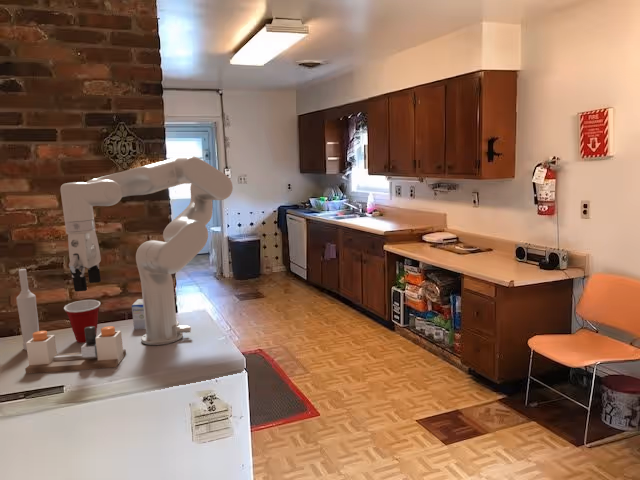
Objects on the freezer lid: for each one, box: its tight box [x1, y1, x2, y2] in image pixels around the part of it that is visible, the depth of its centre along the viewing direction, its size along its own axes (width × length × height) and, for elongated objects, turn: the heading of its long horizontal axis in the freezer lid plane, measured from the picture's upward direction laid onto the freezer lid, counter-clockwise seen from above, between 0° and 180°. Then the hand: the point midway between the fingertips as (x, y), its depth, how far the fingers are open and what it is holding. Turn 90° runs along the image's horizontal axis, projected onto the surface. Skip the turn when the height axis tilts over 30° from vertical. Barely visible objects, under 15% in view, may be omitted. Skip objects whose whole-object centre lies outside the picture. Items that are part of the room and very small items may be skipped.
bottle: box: [16, 268, 40, 351], centre depth 163 cm, size 5×5×25 cm
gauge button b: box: [33, 330, 48, 342], centre depth 148 cm, size 4×4×2 cm
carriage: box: [80, 326, 97, 357], centre depth 149 cm, size 4×6×8 cm, turn 4°
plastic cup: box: [63, 299, 101, 344], centre depth 169 cm, size 11×11×12 cm
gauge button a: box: [100, 325, 116, 337], centre depth 149 cm, size 4×4×2 cm
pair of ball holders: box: [26, 330, 125, 366], centre depth 149 cm, size 24×5×8 cm, turn 94°
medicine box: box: [131, 298, 146, 330], centre depth 182 cm, size 8×4×9 cm, turn 5°
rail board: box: [24, 348, 127, 374], centre depth 150 cm, size 24×10×2 cm, turn 94°
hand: (88, 286), depth 149 cm, fingers open, 9 cm apart
